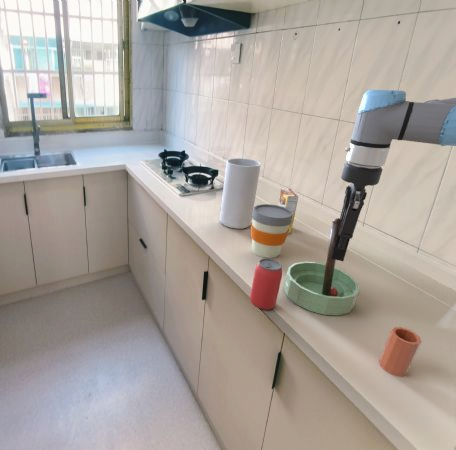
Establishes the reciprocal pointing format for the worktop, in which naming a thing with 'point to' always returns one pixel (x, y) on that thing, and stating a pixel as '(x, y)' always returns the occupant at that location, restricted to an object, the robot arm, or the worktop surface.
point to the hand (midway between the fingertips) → (337, 256)
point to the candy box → (288, 202)
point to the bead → (333, 292)
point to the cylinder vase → (239, 192)
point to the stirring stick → (330, 262)
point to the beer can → (266, 284)
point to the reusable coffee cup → (269, 229)
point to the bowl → (320, 289)
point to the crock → (399, 351)
